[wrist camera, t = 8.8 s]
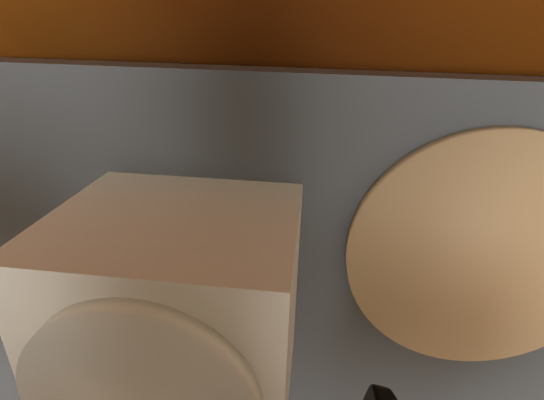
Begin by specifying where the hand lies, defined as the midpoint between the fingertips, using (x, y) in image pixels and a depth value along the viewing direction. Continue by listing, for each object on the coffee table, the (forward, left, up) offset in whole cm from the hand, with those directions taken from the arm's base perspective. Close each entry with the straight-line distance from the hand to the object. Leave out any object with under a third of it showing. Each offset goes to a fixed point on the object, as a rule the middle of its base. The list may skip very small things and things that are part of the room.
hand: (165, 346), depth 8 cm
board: (+4, +1, -5) cm, 6 cm away
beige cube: (0, 0, -4) cm, 4 cm away
